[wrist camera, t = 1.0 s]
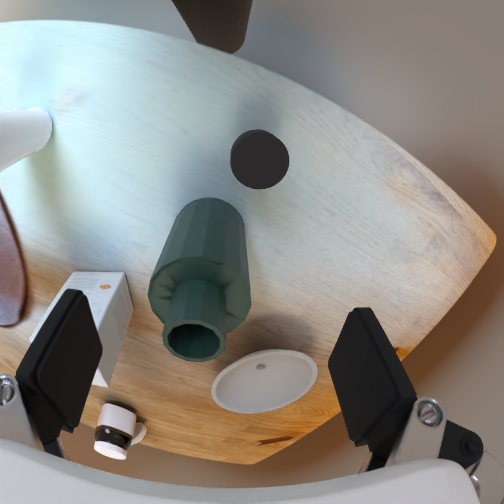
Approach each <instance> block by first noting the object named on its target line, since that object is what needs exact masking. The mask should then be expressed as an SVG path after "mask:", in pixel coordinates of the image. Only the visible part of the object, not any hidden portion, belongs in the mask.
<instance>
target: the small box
mask: <svg viewBox="0 0 504 504" xmlns="http://www.w3.org/2000/svg"><path fill="white" fill-rule="evenodd" d="M68 288H70V289H77V290H82V291H83V293H84V295H86V296H87V298H88V301H89V305H90V308H91V312H92V315H93V319H94V322H95V325H96V328H97V331H98V334H99V337H100V340H101V343H102V346H103V353H102V357H101V359H100V362H99V365H98V368H97V370H96V373H95V376H94V379H93V382H92V385H98V386H104V387H109V384H110V381H111V378H112V374H113V371H114V368H115V365H116V361H117V358H118V355H119V352H120V349H121V346H122V343H123V340H124V337H125V334H126V331H127V328H128V325H129V322H130V320H131V317H132V314H133V311H134V308H133V304H132V301H131V297H130V293H129V289H128V285H127V281H126V277H125V273H124V272H81V271H73V273H72V274H71V276H70V277H69V278H68V280H67V281H66V283H65V284H64V286H63V287H62V288H61V290H60V291H59V293H58V294H57V296H56V297H55V299H54V300H53V302H52V303H51V305H50V306H49V308H48V309H47V311H46V312H45V314H44V316H43V317H42V319H41V320H40V322H39V324H38V325H37V327H36V328H35V330H34V332H33V334H32V335H31V337H30V339H29V340H30V342H31V343H32V342H33V340H34V338H35V336H36V335H37V333H38V331H39V330H40V328H41V326H42V325H43V323H44V322H45V320H46V318H47V317H48V315H49V314H50V312H51V311H52V309H53V308H54V306H55V305H56V303H57V302H58V300H59V299H60V297H61V296H62V294H63V293H64V291H65V290H66V289H68Z"/></svg>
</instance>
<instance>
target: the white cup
mask: <svg viewBox="0 0 504 504" xmlns="http://www.w3.org/2000/svg"><path fill="white" fill-rule="evenodd" d="M51 133H52V121H51V117H50V115H49V113H48V112H47V111H46V110H45V109H43V108H41V107H32V108H22V109H5V110H0V173H1V172H2V171H4V170H5V169H7V168H8V167H10V166H12V165H13V164H15V163H17V162H18V161H20V160H22V159H23V158H25V157H27V156H29V155H31V154H33V153H36V152H38V151H40V150H41V149H43V148H44V147H45V146H46V145H47V143H48V141H49V139H50V137H51Z"/></svg>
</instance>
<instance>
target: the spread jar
mask: <svg viewBox="0 0 504 504" xmlns="http://www.w3.org/2000/svg"><path fill="white" fill-rule="evenodd" d="M146 432H147V428H146V427H145V426H144V425H143V424H142V423H140V422H137V423H136V413H135V411H134V410H132V409H131V408H130V407H129V406H127V405H125V404H123V403H120V402H117V401H106V402H104V404H103V406H102V408H101V412H100V415H99V419H98V423H97V427H96V431H95V440H96V442H95V446H94V449H95V450H96V451H98V452H99V453H101V454H103V455H105V456H108V457H111V458H115V459H126V455H127V452H126V451H127V450H128V449H129V447H130V445H134V444H136V443H138V442H139V441H140V440H142V439H143V437H144V436H145V434H146Z"/></svg>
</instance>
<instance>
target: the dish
mask: <svg viewBox="0 0 504 504" xmlns="http://www.w3.org/2000/svg"><path fill="white" fill-rule="evenodd" d="M259 364H262V365H259ZM317 373H318V369H317V365H316V363H315V361H314V360H313V359H312V358H311V357H310V356H308V355H306V354H304V353H302V352H298V351H293V350H282V349H267V350H261V351H257V352H254V353H251V354H248V355H246V356H244V357H242V358H240V359H239V360H237V361H236V362H234V363H232V364H230V365H229V366H227V367H226V368H225V369H224V370H222V371H221V372H220V373H219V374H218V375H217V377H216V378H215V380H214V382H213V384H212V387H211V394H212V397H213V399H214V401H215V402H216V403H217V404H218V405H219V406H221V407H222V408H224V409H226V410H229V411H232V412H237V413H247V414H251V413H262V412H268V411H272V410H275V409H278V408H281V407H284V406H286V405H288V404H290V403H292V402H294V401H296V400H297V399H299V398H300V397H302V396H303V395H304V394H305V393H306V392H307V391H308V390H309V389H310V388H311V387H312V386H313V384H314V382H315V380H316V378H317Z"/></svg>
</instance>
